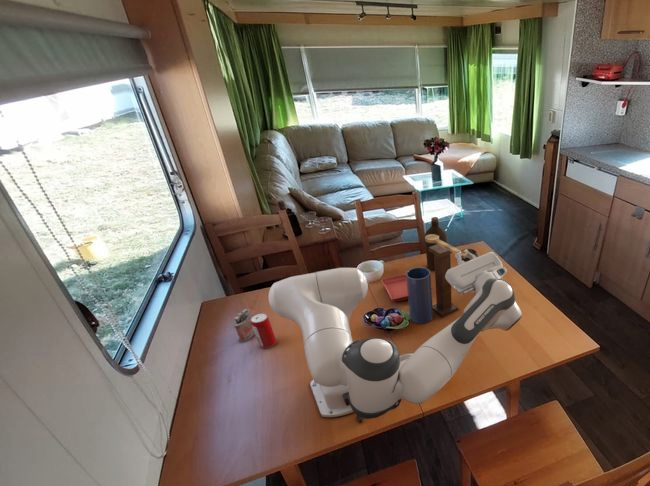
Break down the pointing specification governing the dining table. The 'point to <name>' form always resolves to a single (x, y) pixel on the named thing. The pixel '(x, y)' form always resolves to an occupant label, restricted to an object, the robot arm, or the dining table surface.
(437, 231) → the olive oil
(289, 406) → the dining table surface
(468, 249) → the coffee cup
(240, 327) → the lighter
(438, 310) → the stand
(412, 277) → the crock
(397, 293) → the plant saucer
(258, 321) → the soda can
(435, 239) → the spoon
